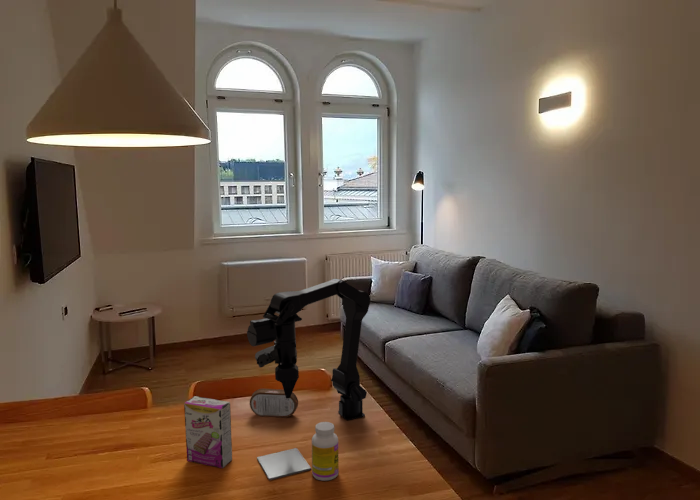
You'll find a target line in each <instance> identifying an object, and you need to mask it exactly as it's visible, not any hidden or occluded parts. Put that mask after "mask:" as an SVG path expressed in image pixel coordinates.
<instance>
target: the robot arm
mask: <svg viewBox="0 0 700 500" xmlns="http://www.w3.org/2000/svg"><path fill="white" fill-rule="evenodd" d="M334 296H337V297H338V298H339V299H341V300H342V308H343V309H342V310H343V312H344V315H345V324H344V332H343V342H342V348H341V349H342V350H341V358H340V363H339V365H338V367H337V368H332V377H331V379H330V381H331V382H332V387H334V390H336V392H337V394H339V396H340V397H339V398H340V399H339V400H338V411H337V412H338V414H339V415H340V416H341V417H342V418H343V419H344V420H345V421H350V420H355V419H359V418H363V416H364V417H366V414H365V413H364V412H363V407H364V406H363V402H364V401H363V400H364V399H366V398H367V394H368V391H367V390H366V389H365V388H363V386H361V381H360V379H361V378H360V377H361V376H360V373H359V370H358V367H357V365H358V364H357V363H358V355H359V346H360V340H361V332H362V324H363V323H362V322H363V319H364V318H365V316H366V315H367V313H368V312H369V308H370V304H371V296H370V295H369V293H368V292H367V291H363V290H360V289H357V288H356V287H354V286H352V285H350V284H349V283H347V282H346V281H345V280H343V279H339V278H336V277H335V278H332V279H330V280H327V281H325V282H322V283H319V284H316V285H314V286H313V285H312V286H310V287H307V288H304V289H301V290H297V291H293V290H291V291H281V292H276V293H274V294H273V295H272V297H271V299H270V303H269V305H268V307H267V309H266V310H265V312H264V314H263V315H262V319H253V320H250V321H249V326H248V327H247V331H246V335H247V339H248V342H249V344H250V346H252V347H257V346H258V347H259V346H261V345H266V344H271V343H273V344H274V345H272V346H268V347H266V348H263V349H261V350H259V351H257V352H255V355H254V359H255V361H256V364H257V365H258V368H263V367H264V368H265V366H267V365H268V364H269V365H270V364H271V363H273V362H274V364H277V366H276V367H274V375H275V376H274V378H275V381H277V382H279V383H280V384H281V386H282V390H284V393H285V396H286V398H290V397H291V394H292V392H293V391H294V389H295V387H296V384H297V381H298V380H299V378H300V375H299V374H300V372H299V366H298V365H297V362H298V360H297V359H298V351H297V340H296V339H297V338H296V323H297V322H301V321H303V318H302V317H300V315H298V313H300V312H301V311H302V310H303V309H304V308H305V307H306V306H309V305H311V304H314V303H317V302H319V301H323V300H325V299H327V298H331V297H334ZM275 313H276V314H278V315H276V314H275ZM293 393H294V392H293Z"/></svg>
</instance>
